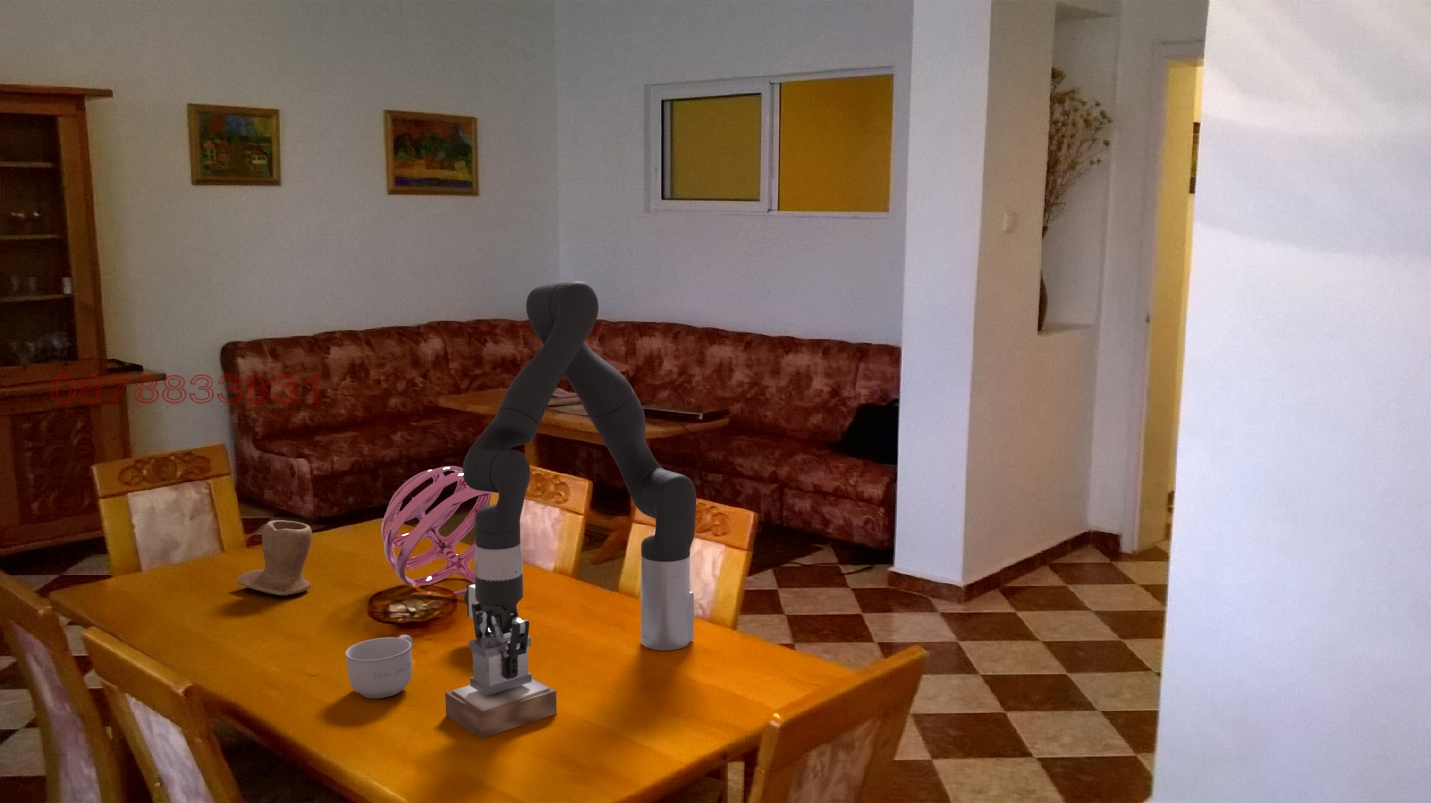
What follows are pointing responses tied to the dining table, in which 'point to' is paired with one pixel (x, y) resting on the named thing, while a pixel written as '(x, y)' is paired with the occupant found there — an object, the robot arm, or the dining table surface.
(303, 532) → the brown top hat
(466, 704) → the stand
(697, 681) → the dining table surface
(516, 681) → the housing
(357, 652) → the teacup
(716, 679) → the dining table surface
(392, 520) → the spiral basket
